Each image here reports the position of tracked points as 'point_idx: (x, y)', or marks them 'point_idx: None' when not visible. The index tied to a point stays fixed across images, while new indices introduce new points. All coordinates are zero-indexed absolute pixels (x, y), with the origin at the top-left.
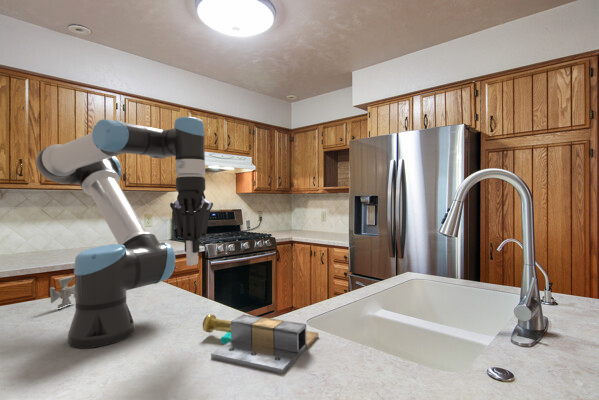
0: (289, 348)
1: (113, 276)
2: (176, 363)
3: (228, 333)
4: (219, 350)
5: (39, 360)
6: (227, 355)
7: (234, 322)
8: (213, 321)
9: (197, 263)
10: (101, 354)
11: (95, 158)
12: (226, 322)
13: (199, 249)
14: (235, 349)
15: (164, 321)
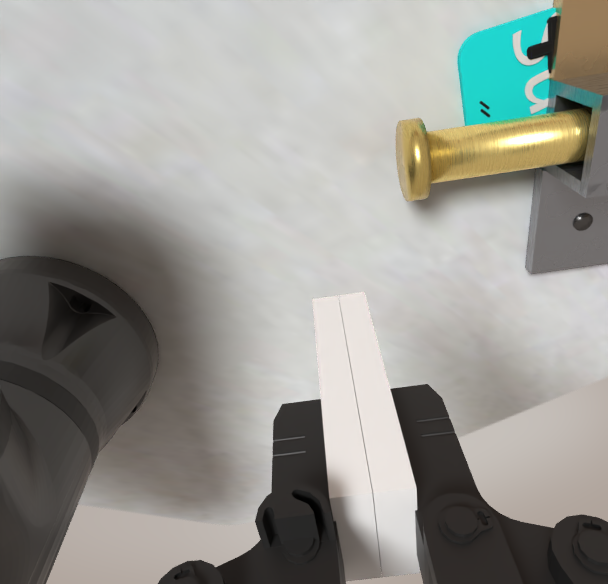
0: None
1: (43, 551)
2: (446, 331)
3: (473, 97)
4: (544, 246)
5: (116, 471)
6: (590, 257)
7: (605, 194)
8: (452, 176)
9: (364, 300)
10: (208, 396)
11: None
12: (526, 162)
13: (443, 403)
14: (597, 215)
15: (75, 139)
